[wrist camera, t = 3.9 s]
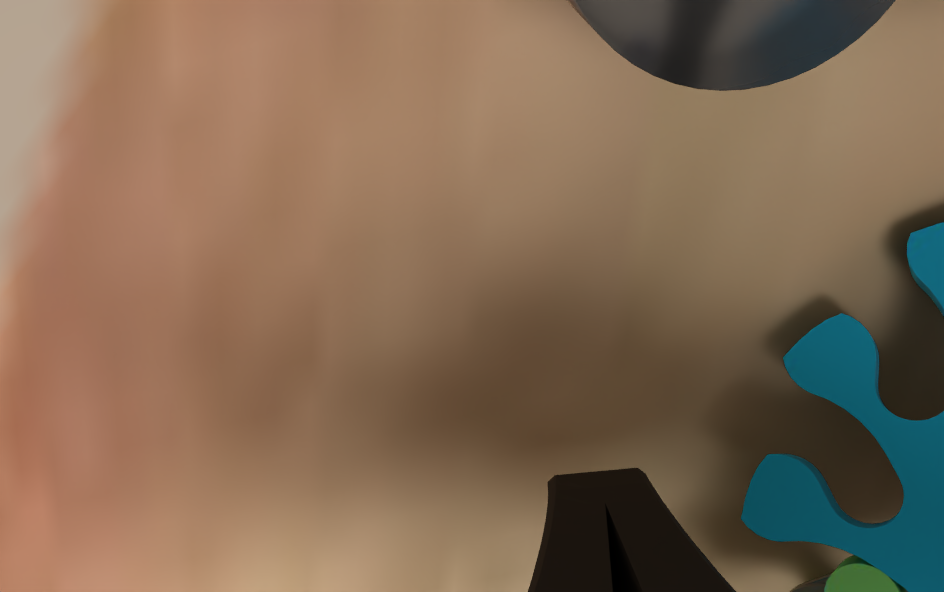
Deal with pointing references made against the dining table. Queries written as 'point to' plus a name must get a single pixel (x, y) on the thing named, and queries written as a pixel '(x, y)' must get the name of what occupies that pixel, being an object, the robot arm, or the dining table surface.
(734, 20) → the spacer field
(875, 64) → the dining table surface
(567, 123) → the dining table surface
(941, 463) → the gear
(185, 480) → the dining table surface
